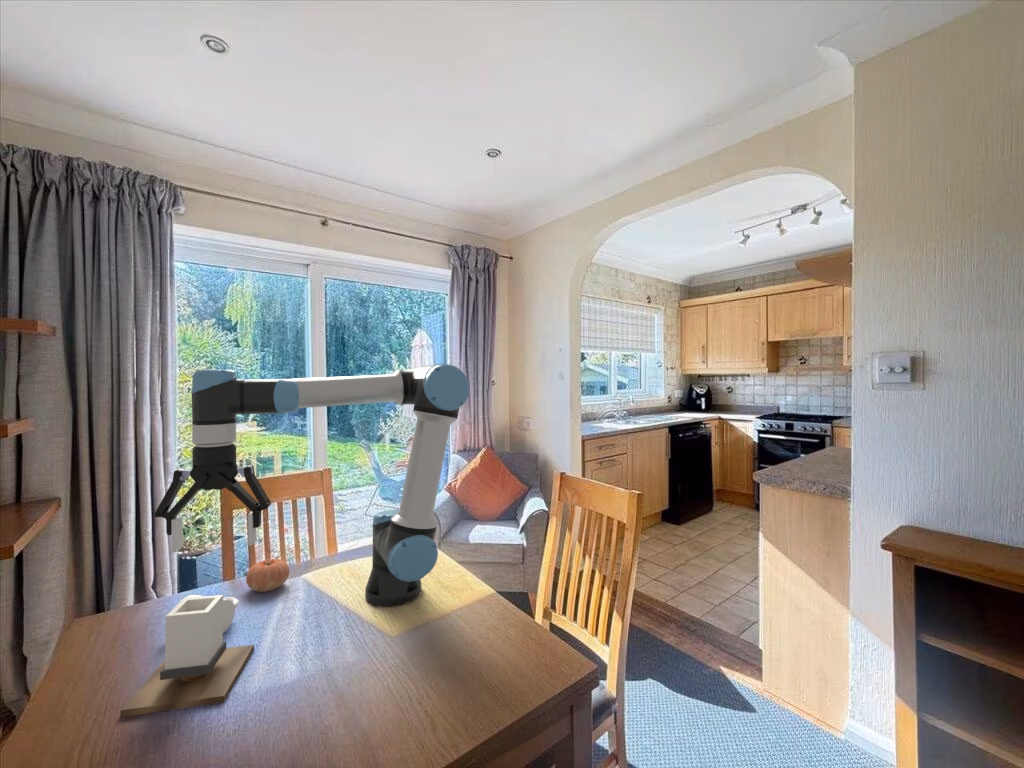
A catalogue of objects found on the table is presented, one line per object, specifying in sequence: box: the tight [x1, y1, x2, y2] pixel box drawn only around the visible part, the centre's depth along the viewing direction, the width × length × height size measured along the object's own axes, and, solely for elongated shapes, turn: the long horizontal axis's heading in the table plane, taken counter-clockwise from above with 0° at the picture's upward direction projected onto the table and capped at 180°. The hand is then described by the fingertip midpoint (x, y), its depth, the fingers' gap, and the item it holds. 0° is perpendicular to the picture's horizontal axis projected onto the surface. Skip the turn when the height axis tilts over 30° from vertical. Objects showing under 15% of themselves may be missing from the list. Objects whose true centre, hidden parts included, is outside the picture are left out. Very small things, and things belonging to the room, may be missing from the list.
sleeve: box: [164, 594, 224, 670], centre depth 85 cm, size 7×7×10 cm
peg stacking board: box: [119, 644, 255, 718], centre depth 85 cm, size 16×16×12 cm
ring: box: [160, 641, 227, 680], centre depth 85 cm, size 8×8×2 cm
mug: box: [175, 594, 240, 634], centre depth 103 cm, size 12×10×8 cm
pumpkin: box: [245, 558, 290, 593], centre depth 123 cm, size 11×11×8 cm
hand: (215, 546), depth 90 cm, fingers open, 13 cm apart
